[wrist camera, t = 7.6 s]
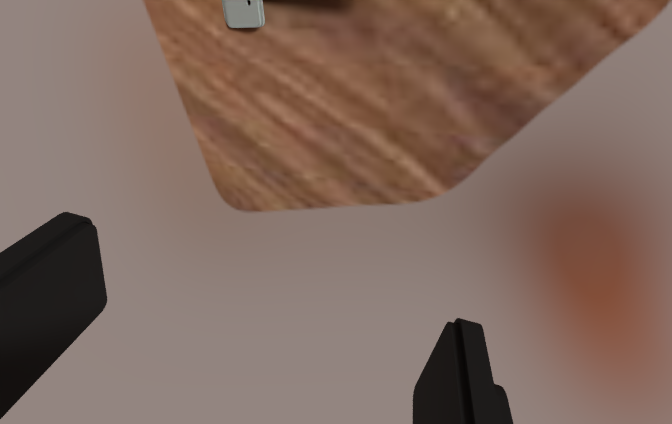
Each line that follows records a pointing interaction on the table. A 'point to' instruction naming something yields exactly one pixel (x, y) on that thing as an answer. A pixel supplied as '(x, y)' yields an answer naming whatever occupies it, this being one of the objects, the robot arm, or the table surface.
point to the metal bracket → (243, 13)
